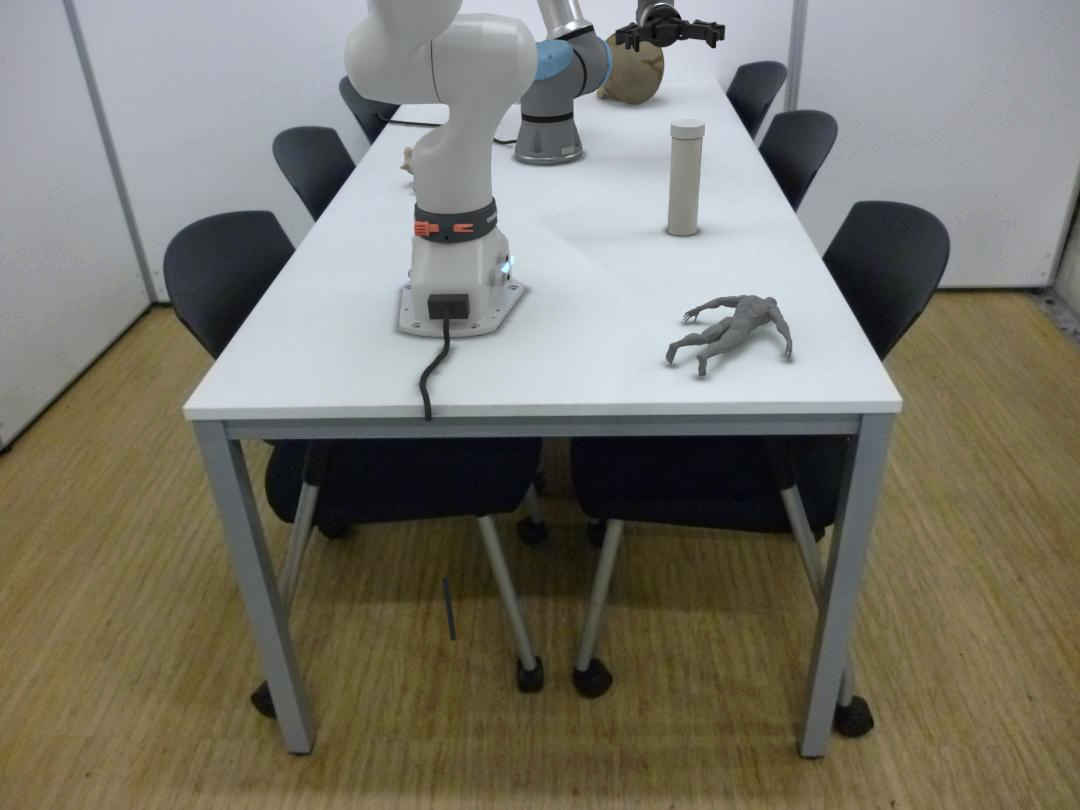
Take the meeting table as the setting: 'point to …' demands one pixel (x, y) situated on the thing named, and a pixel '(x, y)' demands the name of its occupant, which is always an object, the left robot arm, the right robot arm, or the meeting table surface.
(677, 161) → the jar
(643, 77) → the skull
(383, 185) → the meeting table surface
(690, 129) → the lid
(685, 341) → the figurine
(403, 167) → the bone
